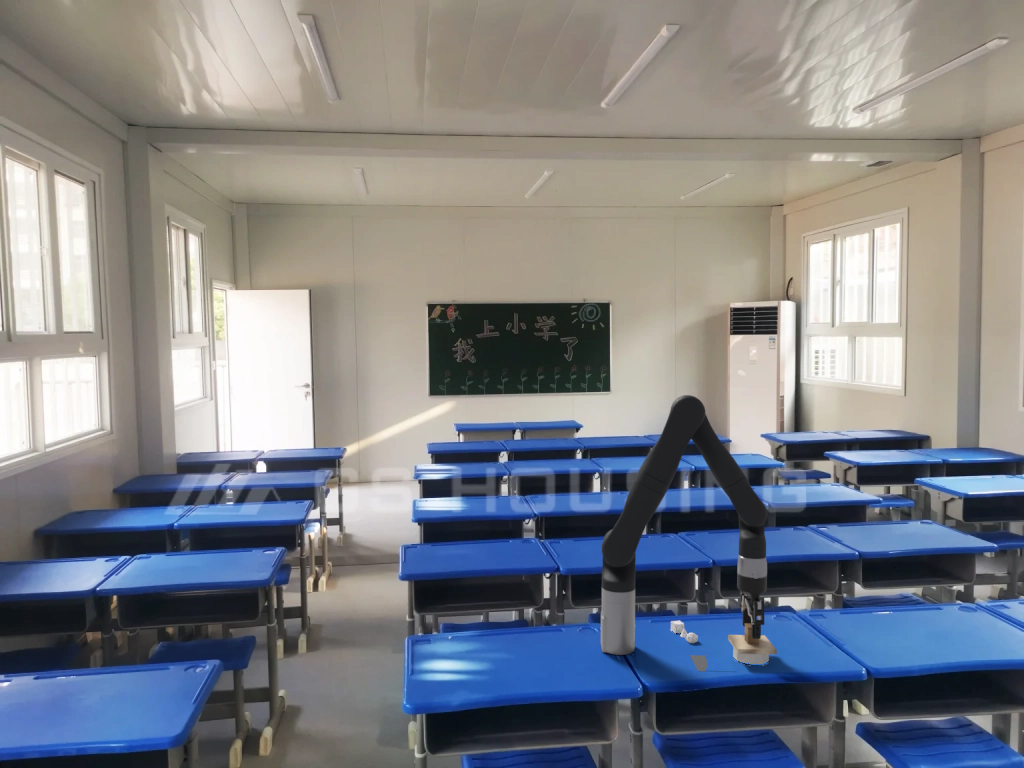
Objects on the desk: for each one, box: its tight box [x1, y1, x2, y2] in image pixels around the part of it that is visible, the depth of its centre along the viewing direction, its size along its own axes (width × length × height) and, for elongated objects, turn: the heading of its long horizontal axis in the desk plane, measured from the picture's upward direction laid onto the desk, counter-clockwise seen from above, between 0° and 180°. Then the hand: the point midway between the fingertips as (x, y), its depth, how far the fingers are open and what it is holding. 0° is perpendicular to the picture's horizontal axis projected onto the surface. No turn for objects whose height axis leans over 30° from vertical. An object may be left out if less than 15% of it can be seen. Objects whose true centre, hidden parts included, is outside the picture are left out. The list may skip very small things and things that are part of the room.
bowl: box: [732, 646, 770, 664], centre depth 192 cm, size 9×9×4 cm
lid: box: [727, 623, 778, 655], centre depth 192 cm, size 10×10×6 cm
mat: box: [689, 654, 708, 672], centre depth 189 cm, size 10×10×1 cm
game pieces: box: [670, 619, 699, 644], centre depth 208 cm, size 12×3×3 cm, turn 13°
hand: (751, 632), depth 192 cm, fingers open, 8 cm apart
